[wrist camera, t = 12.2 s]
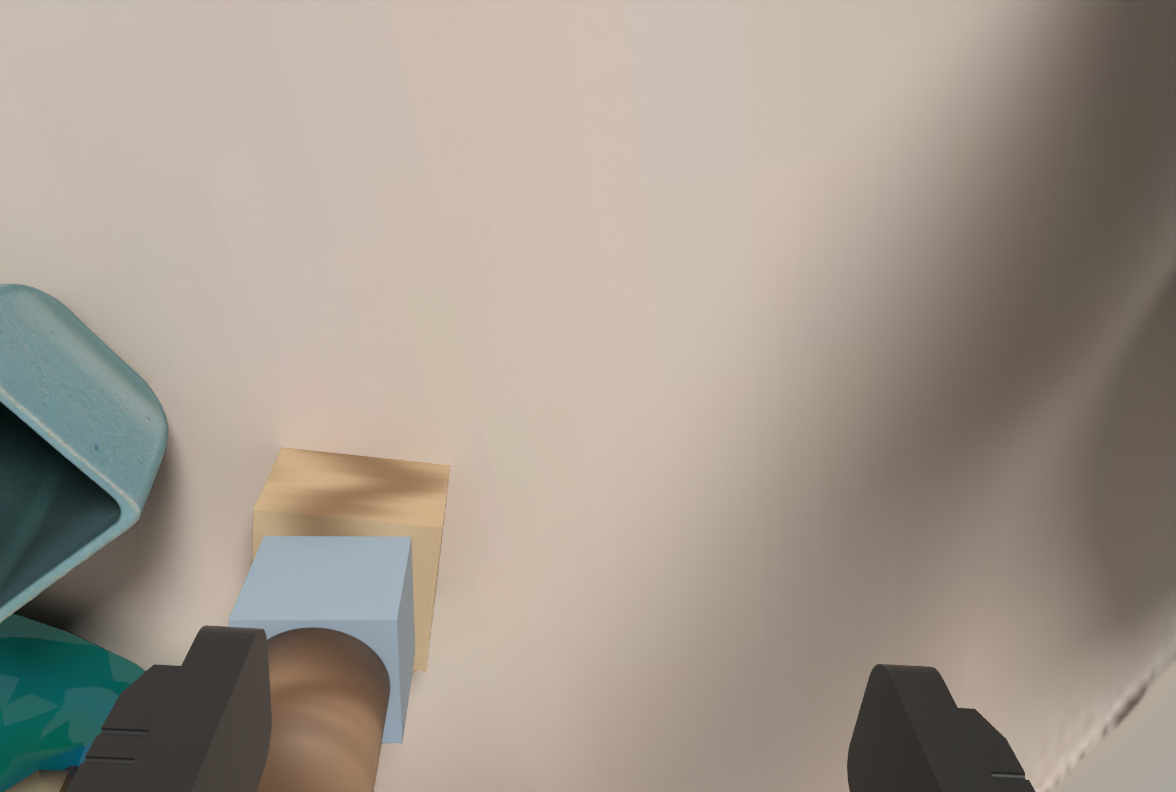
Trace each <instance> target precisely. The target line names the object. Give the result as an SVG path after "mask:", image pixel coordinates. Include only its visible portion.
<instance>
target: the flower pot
mask: <svg viewBox="0 0 1176 792" xmlns="http://www.w3.org/2000/svg"><path fill="white" fill-rule="evenodd" d="M167 441H168V424H167V419H166V415H165V413H164V410H163V408H162V406H161V404H160V402H159V400H158V398H157V397H156V395H155V394H154V392H153V391H152V389H151V388H150V386H149V385H148V384H147V383H146V381H145V380H144V379H143V378H142V377H140V376H139V375H138V374H137V373H136V372H135V371H134V370H133V369H132V368H131V367H130V366H129V365H127V364H126V363H125V362H124V361H123V360H122V359H121V358H120V357H119V356H118V355H117V354H116V353H114V352H113V351H112V350H111V349H110V348H109V347H108V346H107V345H106V344H105V343H104V342H103V341H102V340H101V339H99V338H98V337H97V336H96V335H95V334H94V333H93V332H92V331H91V330H90V329H89V328H88V327H87V326H86V325H85V324H84V323H83V322H81V321H80V320H79V319H78V318H77V317H76V316H75V315H74V314H73V313H72V312H71V311H70V310H69V309H68V308H67V307H66V306H65V305H64V304H63V303H61V302H60V301H59V300H57V299H56V298H54V297H52V296H51V295H49V294H47V293H45V292H43V291H41V290H39V289H36V288H33V287H29V286H25V285H18V284H1V285H0V623H1V622H3V621H4V620H5V619H6V618H8V617H9V616H11V615H12V614H13V613H14V612H16V611H17V610H19V609H20V608H21V607H23V606H24V605H25V604H26V603H28V602H29V601H31V600H32V599H34V598H35V597H36V596H38V595H39V594H40V593H41V592H42V591H44V590H45V589H47V588H48V587H49V586H51V585H52V584H54V583H55V582H56V581H57V580H59V579H60V578H62V577H63V576H65V575H66V574H67V573H69V572H70V571H71V570H72V569H74V568H75V567H77V566H78V565H79V564H80V563H82V562H84V561H85V560H86V559H88V558H89V557H91V556H92V555H93V554H95V553H96V552H97V551H99V550H100V549H101V548H103V547H104V546H106V545H107V544H108V543H110V542H112V541H113V540H114V539H116V538H117V537H118V536H120V535H121V534H123V533H124V532H126V531H127V530H128V529H129V528H131V527H132V526H133V525H134V524H135V523H137V521H138V520H139V519H140V517H141V514H142V511H143V508H144V506H145V503H146V501H147V498H148V496H149V493H150V490H151V488H152V485H153V483H154V481H155V478H156V475H157V472H158V470H159V467H160V465H161V462H162V459H163V456H164V453H165V450H166V447H167Z"/></svg>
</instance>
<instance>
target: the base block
mask: <svg viewBox="0 0 1176 792" xmlns="http://www.w3.org/2000/svg"><path fill="white" fill-rule="evenodd" d="M449 472H450V465H441V464H431V463H422V462H412V461H403V460H394V459H384V458H375V457H365V456H356V455H346V454H337V453H328V452H318V451H309V450H299V449H290V448H281V450H280V453H279V455H278V457H277V459H276V461H275V463H274V466H273V468H272V470H271V472H270V474H269V477H268V479H267V481H266V483H265V485H264V488H263V490H262V492H261V494H260V496H259V498H258V501H257V503H256V505H255V507H254V509H253V558H252V563H253V561H254V559H255V556H256V554H257V551H258V549H259V547H260V544H261V542H262V539H263V537H264V536H400V537H411V538H412V567H413V597H414V626H415V656H414V664H413V670H416V671H426V667H427V659H428V651H429V642H430V634H431V626H432V618H433V610H434V602H435V593H436V585H437V576H438V567H439V559H440V550H441V541H442V533H443V524H444V515H445V507H446V498H447V490H448V481H449Z"/></svg>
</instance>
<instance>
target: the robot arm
mask: <svg viewBox="0 0 1176 792" xmlns="http://www.w3.org/2000/svg"><path fill="white" fill-rule="evenodd" d="M271 728H272V712H271V695H270V679H269V662H268V646H267V636H266V633H265V631H264V629H259V628H240V627H222V626H203V627H202V628H201V629H200V631H199V632H198V634H197V636H196V638H195V640H194V642H193V644H192V646H191V648H190V650H189V652H188V654H187V656H186V658H185V660H184V662H183V664H182V666H169V665H153V666H152V667H151V668H150V669H148V670H147V671H146V672H145V673H144V674H143V675H141V676H140V677H139V678H138V679H137V680H136V681H134V682H133V683H132V684H131V685H130V686H129V687H127V688H126V689H125V690H124V691H123V692H122V693H120V695H119V697H118V699H117V700H116V702H115V704H114V706H113V708H112V709H111V711H110V713H109V715H108V716H107V718H106V720H105V722H104V724H103V725H102V727H101V733H100V735H97V736H96V738H95V740H94V741H93V743H92V745H91V747H90V749H89V750H88V752H87V754H86V756H85V762H84V763H81V765H80V766H79V768H78V770H77V772H76V774H75V775H74V777H73V779H72V781H71V782H70V784H69V786H68V788H67V790H66V791H65V792H257V789H258V786H259V783H260V780H261V777H262V774H263V771H264V768H265V764H266V761H267V756H268V751H269V746H270V739H271ZM847 772H848V783H849V789H850V792H1035V790H1034V788H1033V787H1032V785H1031V783H1030V781H1029V780H1026V779H1025V772H1024V770H1023V768H1022V767H1021V765H1020V763H1019V761H1018V759H1017V758H1016V756H1015V754H1014V752H1013V750H1012V749H1011V747H1010V745H1009V743H1008V741H1007V740H1006V738H1005V737H1003V736H1002V735H1001V734H1000V733H999V732H998V731H997V730H996V729H995V728H994V727H993V726H992V725H991V724H990V723H989V722H988V721H987V720H986V719H985V718H984V717H983V716H982V715H981V714H980V713H979V712H978V711H976V710H975V709H967V708H958V707H957V706H956V704H955V702H954V700H953V698H952V696H951V694H950V692H949V690H948V688H947V686H946V684H945V682H944V680H943V678H942V676H941V675H940V673H939V672H938V671H937V670H936V669H935V668H933V667H924V666H905V665H887V664H878V665H876V666H875V667H874V668H873V669H872V671H871V674H870V676H869V680H868V683H867V687H866V690H865V694H864V697H863V701H862V704H861V708H860V711H859V715H858V718H857V722H856V725H855V729H854V732H853V736H852V739H851V742H850V746H849V751H848V761H847Z"/></svg>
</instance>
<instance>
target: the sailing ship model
mask: <svg viewBox="0 0 1176 792" xmlns="http://www.w3.org/2000/svg"><path fill="white" fill-rule="evenodd" d="M144 673H145V671H144V670H143V669H141V668H140V667H139V666H137V665H136V664H135V663H133V662H131V661H129V660H127V659H125V658H122V657H120V656H118V655H116V654H114V653H112V652H110V651H107V650H105V649H103V648H101V647H99V646H97V645H95V644H93V643H90V642H88V641H86V640H84V639H82V638H80V637H78V636H75V635H73V634H71V633H69V632H67V631H64V630H61V629H58V628H55V627H52V626H49V625H46V624H43V623H40V622H37V621H34V620H31V619H28V618H26V617H23V616H19V615H15V614H12V615H11V616H9V617H8V618H6V619H5V620H4V621H3V622H1V623H0V792H65V791H66V790H67V788H68V786H69V784H70V782H71V781H72V779H73V777H74V775H75V774H76V772H77V770H78V768H79V766H80V765H81V763H84V762H85V756H86V754H87V752H88V750H89V749H90V747H91V745H92V743H93V741H94V740H95V738H96V736H97V735H100V733H101V727H102V725H103V724H104V722H105V720H106V718H107V716H108V715H109V713H110V711H111V709H112V708H113V706H114V704H115V702H116V700H117V699H118V697H119V695H120V693H122V692H123V691H124V690H125V689H126V688H127V687H129V686H130V685H131V684H132V683H133V682H134V681H136V680H137V679H138V678H139V677H140V676H141V675H143V674H144Z"/></svg>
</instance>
